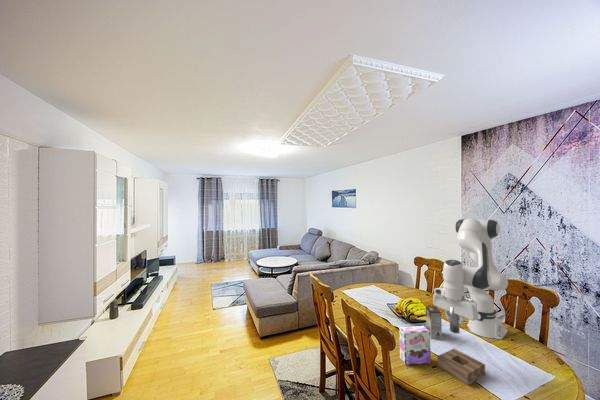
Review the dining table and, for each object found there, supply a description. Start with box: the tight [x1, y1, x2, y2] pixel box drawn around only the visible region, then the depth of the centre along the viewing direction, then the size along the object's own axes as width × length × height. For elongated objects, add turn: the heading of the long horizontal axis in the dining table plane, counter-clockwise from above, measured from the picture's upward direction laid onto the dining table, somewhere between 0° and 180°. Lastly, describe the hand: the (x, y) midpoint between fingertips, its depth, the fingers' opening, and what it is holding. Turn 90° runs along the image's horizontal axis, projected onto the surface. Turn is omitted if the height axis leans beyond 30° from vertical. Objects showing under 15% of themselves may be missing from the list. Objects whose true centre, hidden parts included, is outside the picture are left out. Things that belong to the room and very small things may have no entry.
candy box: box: [398, 325, 432, 366], centre depth 121 cm, size 14×6×16 cm, turn 94°
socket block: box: [436, 348, 486, 386], centre depth 113 cm, size 14×14×5 cm
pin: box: [449, 307, 460, 334], centre depth 116 cm, size 4×4×12 cm
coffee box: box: [425, 305, 443, 340], centre depth 144 cm, size 9×6×16 cm
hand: (454, 321), depth 116 cm, fingers closed on pin, 4 cm apart
